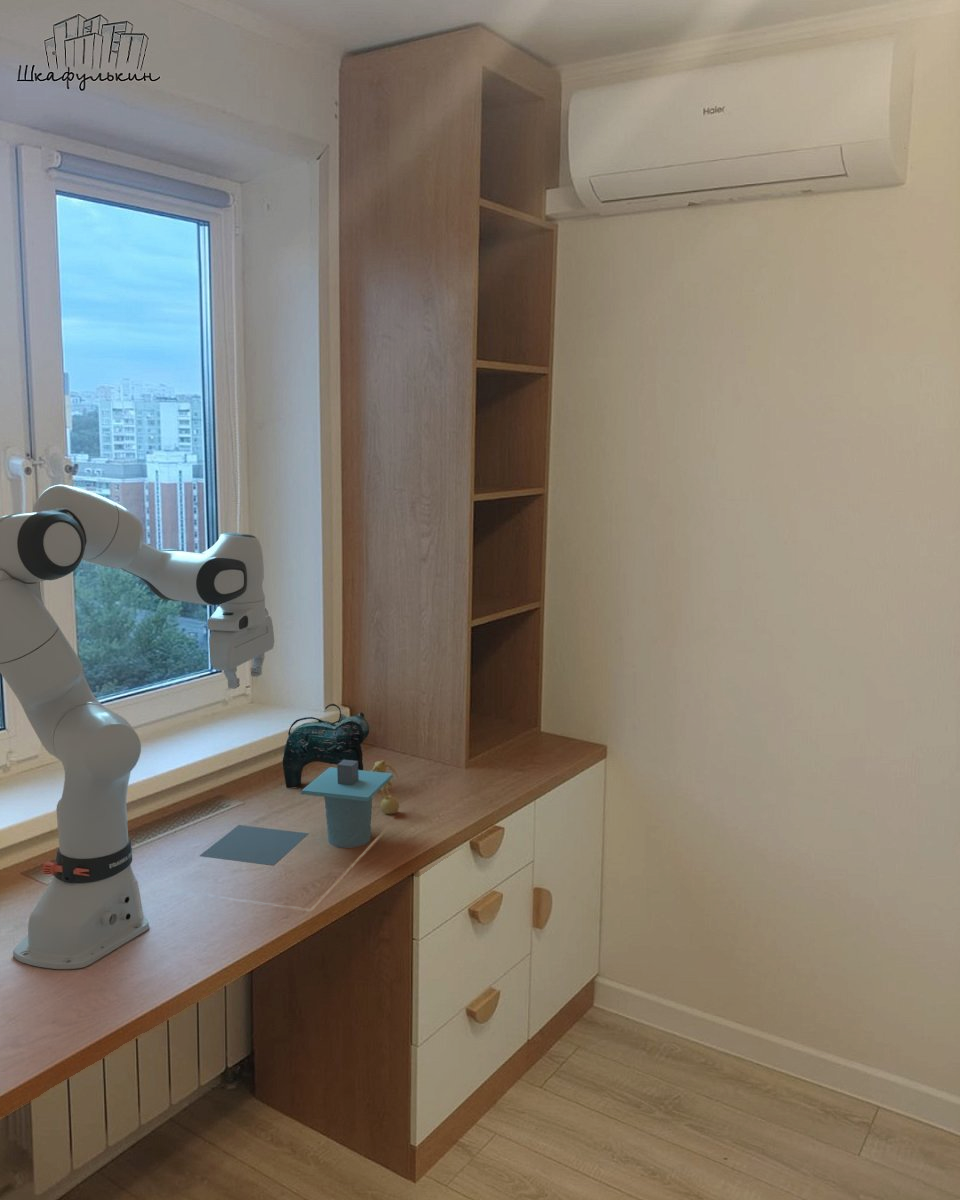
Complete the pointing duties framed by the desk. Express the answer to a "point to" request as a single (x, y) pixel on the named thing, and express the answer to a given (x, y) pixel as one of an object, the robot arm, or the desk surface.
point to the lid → (347, 782)
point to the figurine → (388, 803)
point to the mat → (255, 845)
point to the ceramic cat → (323, 744)
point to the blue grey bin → (348, 821)
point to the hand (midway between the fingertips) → (245, 681)
